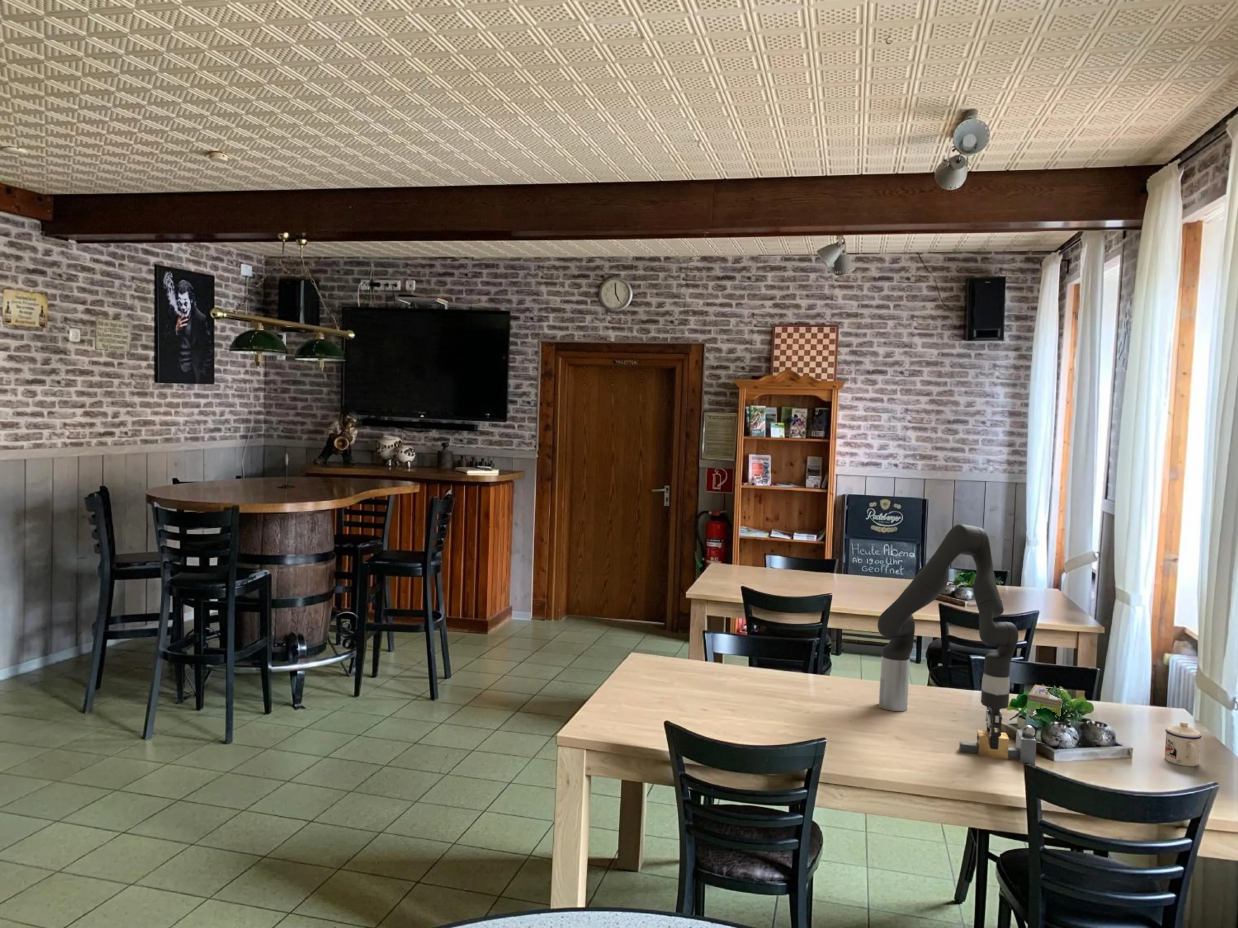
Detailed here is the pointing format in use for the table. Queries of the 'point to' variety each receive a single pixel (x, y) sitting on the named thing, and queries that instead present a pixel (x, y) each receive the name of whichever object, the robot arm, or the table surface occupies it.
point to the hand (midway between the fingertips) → (992, 743)
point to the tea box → (1041, 703)
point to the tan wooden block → (984, 745)
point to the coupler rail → (1022, 751)
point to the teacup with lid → (1182, 745)
